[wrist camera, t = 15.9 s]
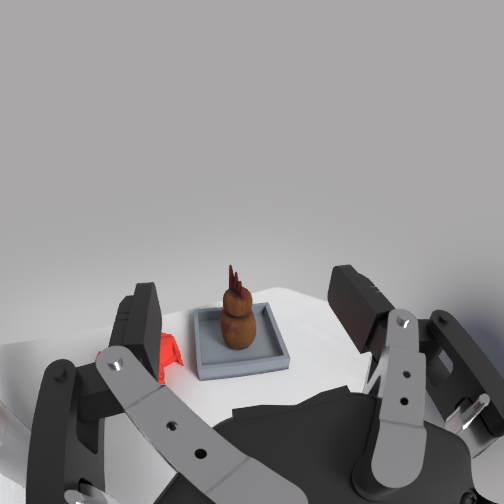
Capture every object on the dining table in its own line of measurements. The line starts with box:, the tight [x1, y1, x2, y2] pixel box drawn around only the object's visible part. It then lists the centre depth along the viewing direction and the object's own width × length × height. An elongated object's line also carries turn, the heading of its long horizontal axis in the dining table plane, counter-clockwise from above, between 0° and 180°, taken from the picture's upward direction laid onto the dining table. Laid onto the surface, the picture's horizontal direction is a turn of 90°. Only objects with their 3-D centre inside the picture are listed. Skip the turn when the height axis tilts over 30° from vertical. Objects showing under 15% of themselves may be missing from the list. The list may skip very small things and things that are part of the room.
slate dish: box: [194, 302, 290, 381], centre depth 47 cm, size 15×15×3 cm
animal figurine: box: [95, 333, 184, 384], centre depth 40 cm, size 12×15×5 cm
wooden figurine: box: [220, 265, 256, 350], centre depth 43 cm, size 7×6×15 cm
